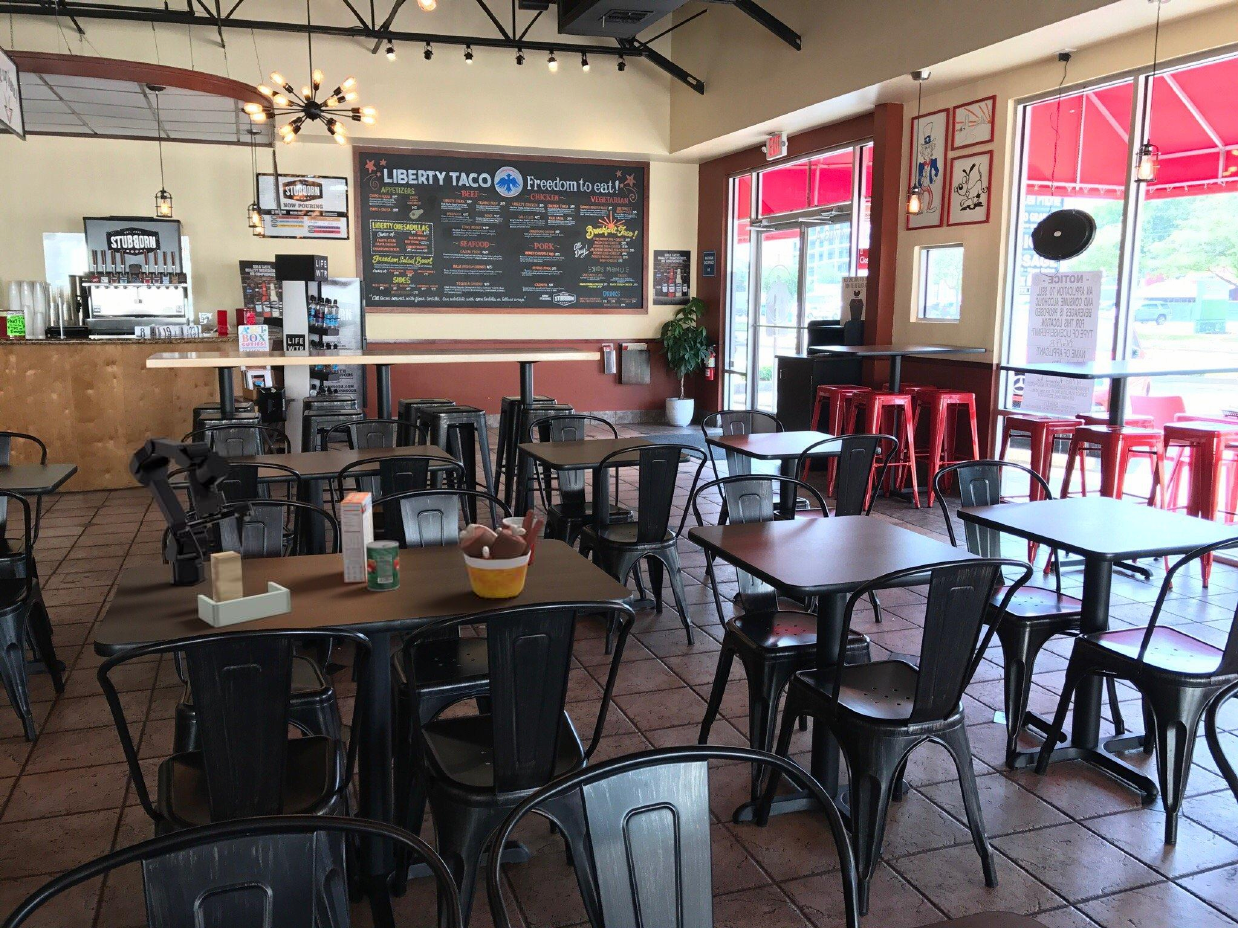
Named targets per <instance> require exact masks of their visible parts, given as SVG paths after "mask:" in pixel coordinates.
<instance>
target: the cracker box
mask: <svg viewBox="0 0 1238 928" xmlns="http://www.w3.org/2000/svg"><path fill="white" fill-rule="evenodd" d="M372 501H373V500H372V492H368V491H367V492H363V491H361V492H359V491H357V492H355V491H354V492H349V494H348V495H347V496H346V497H345V498H343V500H341V502H340V504H339V509H340V510H339V511H340V512H339V513H340V527H341V528H340V529H341V549H342V567H343V583H345V584H351V583H352V584H353V583H367V559H366V558H367V556H366V544H367V543H370V542H374V526H373V524H374V523H373V522H374V521H373V505H372Z"/></svg>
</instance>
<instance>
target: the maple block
mask: <svg viewBox="0 0 1238 928" xmlns="http://www.w3.org/2000/svg"><path fill="white" fill-rule="evenodd" d="M210 565H211V566H210V568H211V582H212V583H211V584H212V598H213V599H212V601H214V602H216V603H219V602H224V601H230V600H235V599H240V598H244V593H243V592H244V589H243V588H244V587H243V576H242V575H243V570H242V555H241V554H239V553H238V552H235V551H233V550H231V551H225V552H223V551H222V552H219V553H218V552H217V553H213V554H212V553H211V554H210Z"/></svg>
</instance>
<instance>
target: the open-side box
mask: <svg viewBox="0 0 1238 928" xmlns="http://www.w3.org/2000/svg"><path fill="white" fill-rule="evenodd" d="M267 590H268V592H266V593H262V594H257V595H251V596H246V597H243V598H240V599H235V600H230V601H224V602H219V603H216V602H214V601H213V599H211V598H209V597H207V596H205V595H203V594H199V595H197V604H198V606H197V607H198V608H197V609H198V618H200V619H201V620H203V621H204V622H205V623H208V624H209V625H210V626H212V627H214V628H219V627H225V626H230V625H233V624H239V623H243V622H248V621H253V620H258V619H262V618H266V617H272V616H278V615H282V614H286V613H290V612H292V605H291V604H292V603H291V590H290V589H288V588H286V587H283V586H282V585H280V584H277V583H275V582H273V581H268V582H267Z"/></svg>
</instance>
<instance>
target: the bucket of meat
mask: <svg viewBox="0 0 1238 928" xmlns="http://www.w3.org/2000/svg"><path fill="white" fill-rule="evenodd" d="M535 515H536V512H535V511H534V510H533V509H528V510H527V512H526V516H524V517H523V518H524V519H523V522H522V528H520V527H517V526H515V525H510V528H509V529H507V530H506V529H505V528H502V527H498V528H497V529H495V531H493V530H492V529H490V528H489V527H487V526H485V525H480V524H477V523H475V524H474V523H471V524H468V525H467V526H466V528H465V530H462V531H460V532H459V536H458V537H459V538H460V539H462V540H461V541H460V544H459V547H460V549H461V551H462V553H463V558H464V559H465V564H466V569H467V572H468V575H469V580H470V584H471V585H470V586H471V588H472V591H473V592H474V593H475V594H476V595H477V596H478V595H479V596H478V597H480V598H481V597H485V598H484V599H487V598H493V599H492V600H495V599H494V598H507V599H510V598H509V597H511V598H514V596H515V597H517V596H518V595H519V594H520V593H521V591H522V590H523V589H524V585H525V582H526V581H525V580H526V575H527V569H528V566H529V565H528V561H529V556H530V553H531V550H530V549H531V547H532V546H533V544H534V542H535V540H536V539H537V540H538V537H539V535H540V533H541V531H542V529H543V527H544V525H545V520H544V518H538V519H536V522H535V524H534V526H533V522H534V519H535Z"/></svg>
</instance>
